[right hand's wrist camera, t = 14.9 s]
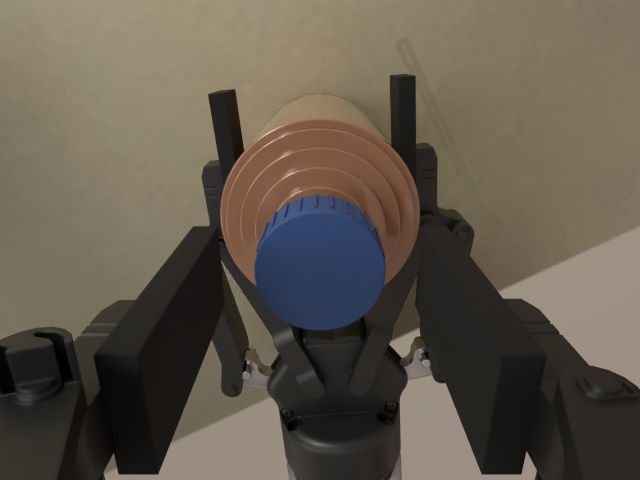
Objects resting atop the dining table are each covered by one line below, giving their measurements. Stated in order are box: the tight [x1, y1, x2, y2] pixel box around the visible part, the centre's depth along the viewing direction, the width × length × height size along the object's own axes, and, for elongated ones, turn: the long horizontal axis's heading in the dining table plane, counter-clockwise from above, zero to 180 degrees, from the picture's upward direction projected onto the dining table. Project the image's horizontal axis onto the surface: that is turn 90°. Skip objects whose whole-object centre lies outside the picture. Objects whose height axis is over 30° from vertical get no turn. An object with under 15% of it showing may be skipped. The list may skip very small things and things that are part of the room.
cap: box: [254, 194, 386, 330], centre depth 14 cm, size 4×4×2 cm
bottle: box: [220, 94, 420, 285], centre depth 22 cm, size 8×8×17 cm
